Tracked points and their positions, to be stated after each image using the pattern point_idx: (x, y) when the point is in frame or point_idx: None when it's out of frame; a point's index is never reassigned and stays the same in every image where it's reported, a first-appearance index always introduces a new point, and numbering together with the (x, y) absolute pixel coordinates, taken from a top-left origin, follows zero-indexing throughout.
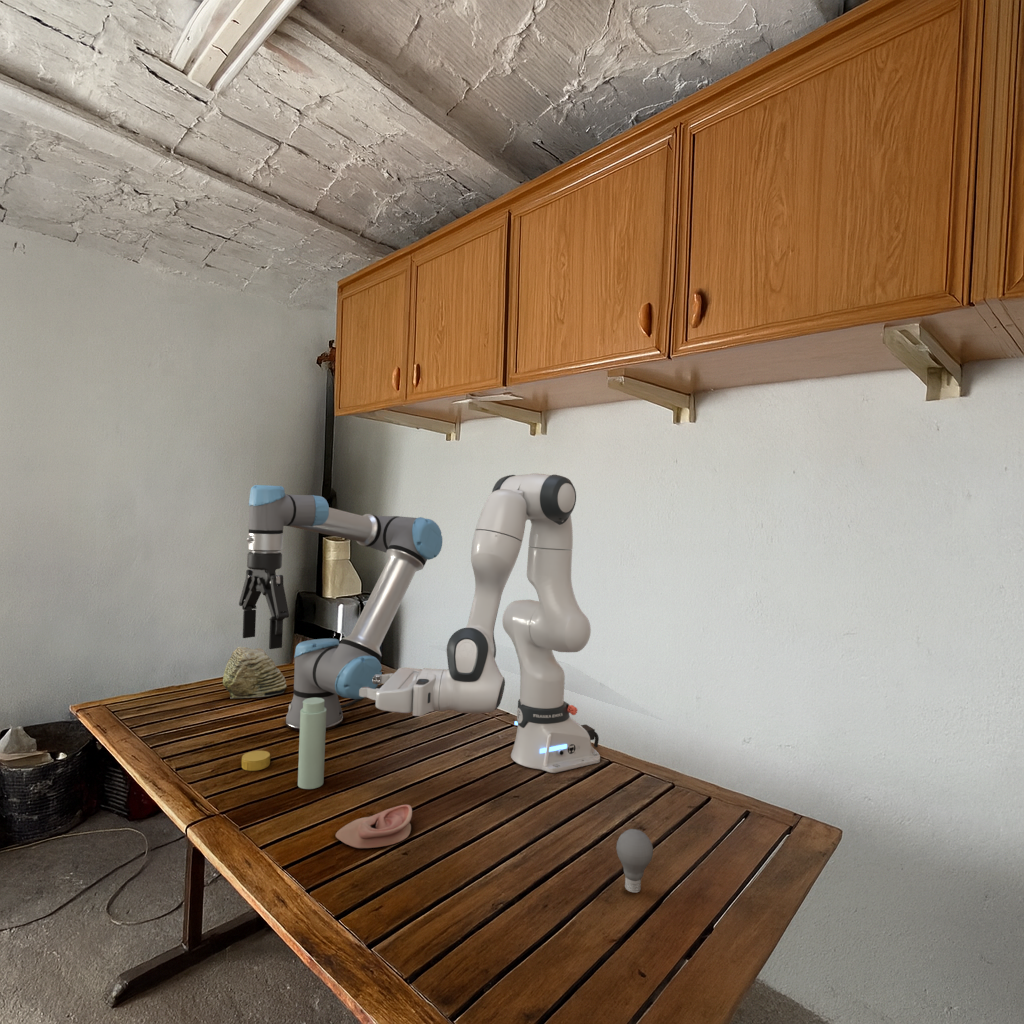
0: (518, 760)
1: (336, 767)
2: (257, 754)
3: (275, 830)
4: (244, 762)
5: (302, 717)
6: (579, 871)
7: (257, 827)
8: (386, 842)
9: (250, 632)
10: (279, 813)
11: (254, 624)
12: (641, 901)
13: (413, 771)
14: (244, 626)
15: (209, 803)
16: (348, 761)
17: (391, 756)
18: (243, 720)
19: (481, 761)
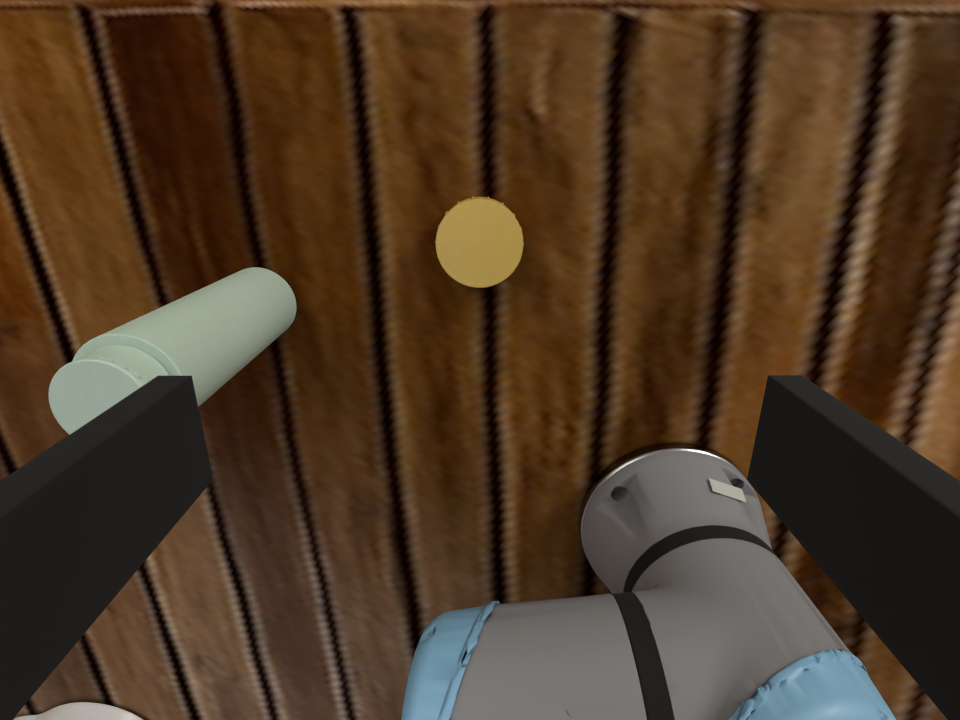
0: (87, 710)
1: (321, 405)
2: (485, 252)
3: (30, 89)
4: (470, 199)
5: (124, 327)
6: None
7: (71, 55)
8: None
9: (782, 463)
10: (125, 146)
11: (824, 557)
12: None
13: (185, 529)
14: (850, 438)
15: (300, 2)
16: (339, 448)
17: (302, 540)
18: (858, 372)
19: (153, 661)
